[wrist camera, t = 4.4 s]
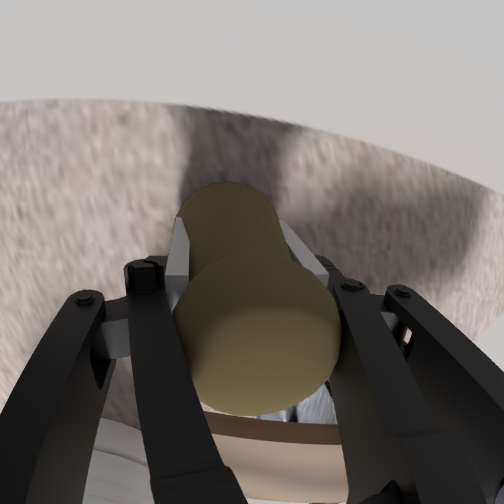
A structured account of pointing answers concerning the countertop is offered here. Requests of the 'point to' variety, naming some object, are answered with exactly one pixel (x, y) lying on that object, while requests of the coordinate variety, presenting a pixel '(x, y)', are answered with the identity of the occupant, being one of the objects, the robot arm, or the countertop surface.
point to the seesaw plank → (282, 458)
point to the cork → (251, 307)
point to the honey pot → (118, 467)
